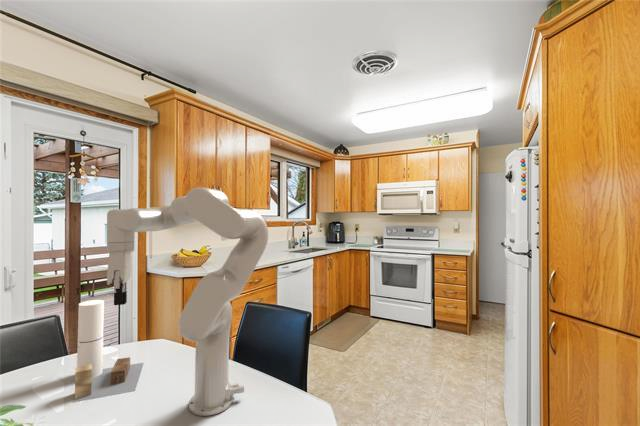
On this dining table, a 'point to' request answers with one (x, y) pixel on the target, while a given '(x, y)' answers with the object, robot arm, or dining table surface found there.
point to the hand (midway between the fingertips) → (120, 304)
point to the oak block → (83, 381)
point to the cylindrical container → (91, 335)
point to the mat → (104, 388)
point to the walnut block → (120, 371)
